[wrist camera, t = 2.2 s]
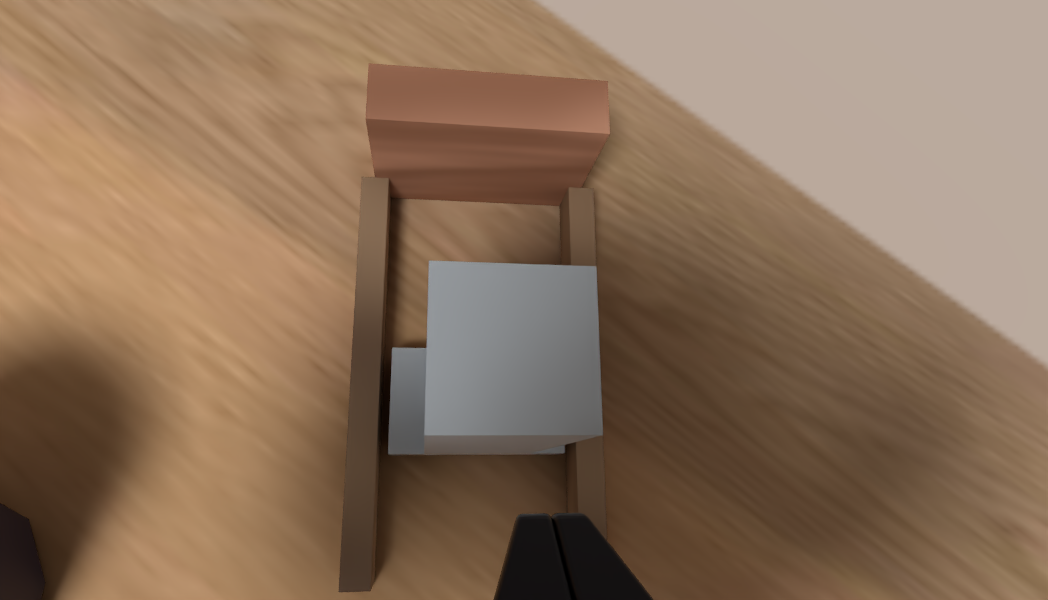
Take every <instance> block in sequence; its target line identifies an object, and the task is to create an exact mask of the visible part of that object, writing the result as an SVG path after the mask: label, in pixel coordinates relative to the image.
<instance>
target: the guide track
mask: <svg viewBox="0 0 1048 600" xmlns="http://www.w3.org/2000/svg"><path fill="white" fill-rule="evenodd" d="M366 124H367V130H368V136H369V142H370V148H371V154H372V160H373V167H374V173H375V177H362V182H361V200H360V218H359V236H358V254H357V272H356V290H355V308H354V326H353V344H352V362H351V380H350V398H349V416H348V434H347V452H346V470H345V488H344V506H343V524H342V542H341V560H340V578H339V592H361V591H371V589H372V587H373V585H374V579H375V556H376V533H377V510H378V487H379V463H380V440H381V417H382V394H383V371H384V348H385V325H386V301H387V278H388V255H389V232H390V209H391V198H406V199H428V200H449V201H471V202H492V203H514V204H535V205H557V206H560V240H561V265H572V266H596V243H595V218H594V192H593V188H581V187H582V185H583V183H584V181H585V180H586V178H587V176H588V174H589V172H590V170H591V168H592V167H593V165H594V163H595V161H596V159H597V157H598V155H599V153H600V152H601V150H602V148H603V146H604V144H605V142H606V140H607V139H608V137H609V135H610V122H609V101H608V81H600V80H587V79H573V78H559V77H546V76H532V75H518V74H505V73H491V72H478V71H464V70H450V69H437V68H423V67H409V66H396V65H382V64H369V68H368V86H367V104H366ZM596 269H597V268H596ZM599 345H600V344H599ZM602 421H603V420H602ZM566 476H567V513H583V514H585V515H586V516H588V517H589V518H590V520H591V521H592V522H593V523H594V525H595V526H596V527H597V529H598V530H599V531H600V532H601V534H602V535H603V536H604V537H605V539H606V540H607V522H606V496H605V471H604V446H603V435H602V436H598V437H594V438H590V439H586V440H582V441H578V442H574V443H570V444H566Z"/></svg>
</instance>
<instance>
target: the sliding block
mask: <svg viewBox="0 0 1048 600" xmlns="http://www.w3.org/2000/svg"><path fill="white" fill-rule="evenodd" d="M602 435H603V421H602V395H601V370H600V345H599V319H598V294H597V269H596V266H572V265H543V264H513V263H484V262H454V261H429V278H428V315H427V348H392V365H391V390H390V415H389V440H388V454H389V455H527V454H563V453H565V445H566V444H570V443H574V442H578V441H582V440H586V439H590V438H594V437H598V436H602Z"/></svg>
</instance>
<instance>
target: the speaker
mask: <svg viewBox="0 0 1048 600" xmlns="http://www.w3.org/2000/svg"><path fill="white" fill-rule="evenodd" d="M44 585H45V580H44V576H43V572H42V568H41V565H40V561H39V557H38V553H37V549H36V546H35V542H34V538H33V534H32V530H31V527H30V523H29V519H27V518H25V517H23V516H22V515H20V514H18V513H16V512H15V511H13V510H11V509H9V508H8V507H6V506H4V505H2V504H0V600H41V597H42V593H43V589H44Z"/></svg>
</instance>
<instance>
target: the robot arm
mask: <svg viewBox="0 0 1048 600" xmlns="http://www.w3.org/2000/svg"><path fill="white" fill-rule="evenodd" d="M494 600H653V598H652V597H651V596H650V595H649V593H648V592H647V591H646V590H645V588H644V587H643V586H642V584H641V583H640V582H639V581H638V579H637V578H636V577H635V576H634V574H633V573H632V572H631V570H630V569H629V568H628V567H627V565H626V564H625V563H624V562H623V560H622V559H621V558H620V557H619V555H618V554H617V553H616V551H615V550H614V549H613V548H612V546H611V545H610V544H609V543H608V541H607V540H606V539H605V537H604V536H603V535H602V534H601V532H600V531H599V530H598V529H597V527H596V526H595V525H594V523H593V522H592V521H591V520H590V518H589V517H588V516H586V515H585V514H583V513H557V514H554V515H553V516H552V517H550V516H549V515H548V514H544V513H543V514H520V515H518V516H517V518H516V520H515V524H514V527H513V531H512V535H511V538H510V542H509V545H508V549H507V553H506V556H505V560H504V564H503V567H502V571H501V575H500V578H499V582H498V586H497V589H496V593H495V596H494Z"/></svg>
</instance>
